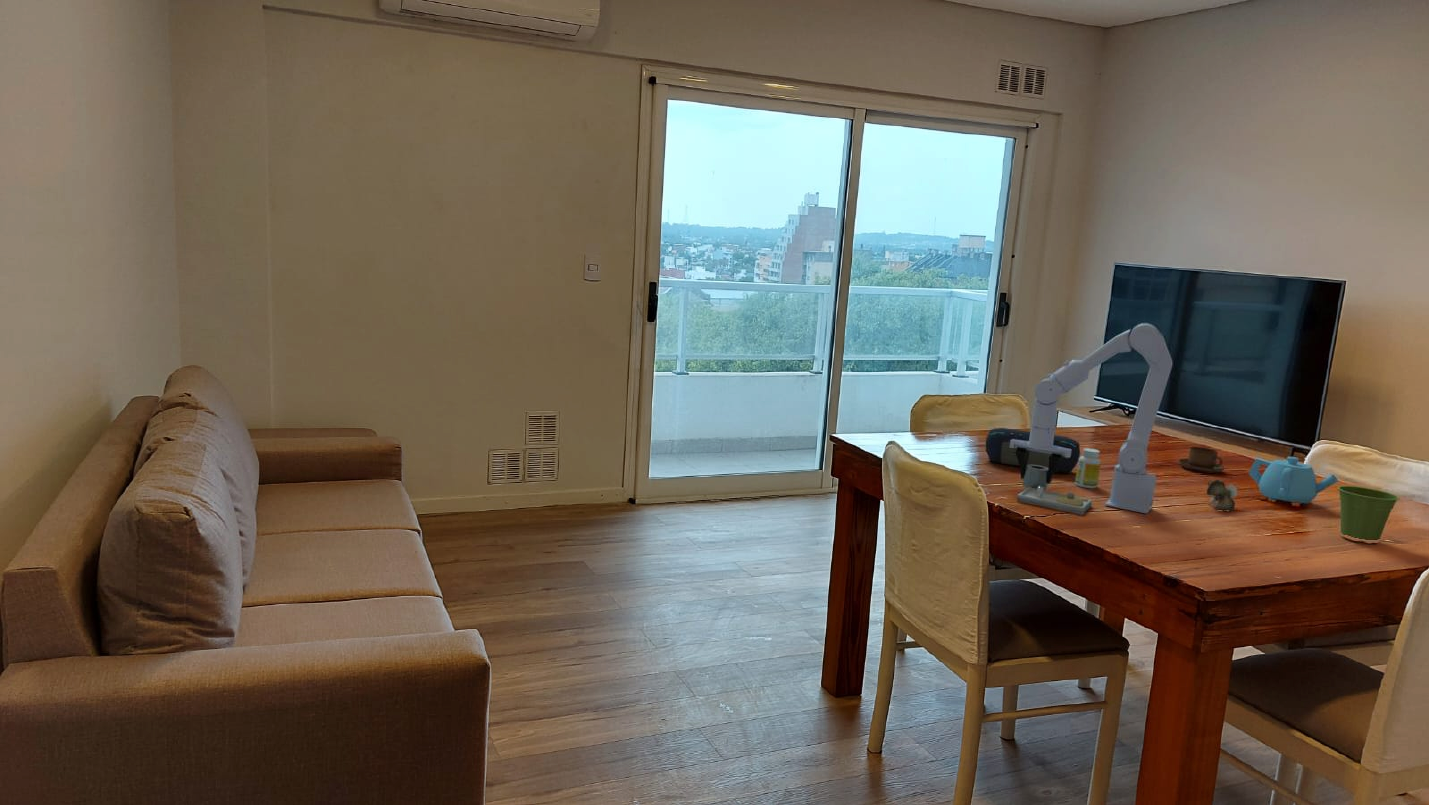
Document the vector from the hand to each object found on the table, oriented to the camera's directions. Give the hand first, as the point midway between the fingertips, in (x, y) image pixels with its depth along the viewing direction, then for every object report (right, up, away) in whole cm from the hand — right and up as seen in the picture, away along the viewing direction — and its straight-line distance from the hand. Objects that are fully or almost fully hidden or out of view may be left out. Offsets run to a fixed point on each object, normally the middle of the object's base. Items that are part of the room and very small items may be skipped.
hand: (1035, 480), depth 243 cm
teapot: (+69, -7, +10) cm, 70 cm away
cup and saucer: (+62, -1, +42) cm, 75 cm away
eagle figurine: (+45, -7, -1) cm, 46 cm away
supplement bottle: (+16, -2, +10) cm, 19 cm away
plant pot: (+66, -12, -22) cm, 71 cm away
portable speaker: (+7, +1, +27) cm, 28 cm away
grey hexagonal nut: (0, -2, 0) cm, 2 cm away
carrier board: (+1, -5, -11) cm, 12 cm away
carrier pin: (-2, -4, -9) cm, 10 cm away
